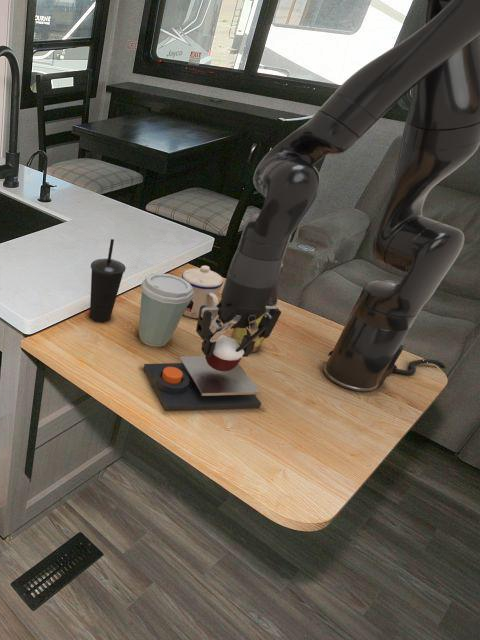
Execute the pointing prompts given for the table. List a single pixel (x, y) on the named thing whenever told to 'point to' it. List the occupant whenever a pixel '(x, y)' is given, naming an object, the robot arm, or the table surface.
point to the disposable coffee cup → (162, 307)
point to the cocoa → (229, 352)
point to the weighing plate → (217, 378)
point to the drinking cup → (105, 286)
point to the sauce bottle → (240, 332)
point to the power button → (172, 375)
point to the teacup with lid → (202, 289)
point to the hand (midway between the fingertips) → (224, 354)
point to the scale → (192, 393)
